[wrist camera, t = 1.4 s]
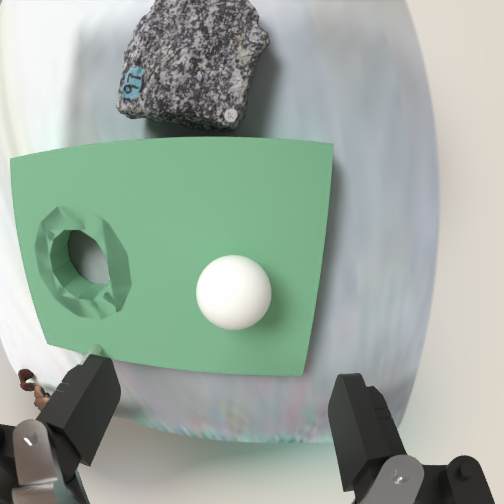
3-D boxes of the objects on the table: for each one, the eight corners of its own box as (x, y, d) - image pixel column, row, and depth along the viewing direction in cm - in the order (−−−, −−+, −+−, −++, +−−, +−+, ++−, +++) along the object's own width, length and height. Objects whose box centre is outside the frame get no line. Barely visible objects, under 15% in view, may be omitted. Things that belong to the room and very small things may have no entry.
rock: (284, 10, 14) (290, -20, 10) (235, 144, 17) (229, 143, 13) (177, -9, 13) (160, -37, 9) (127, 117, 17) (97, 113, 13)
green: (30, 155, 17) (10, 158, 15) (323, 144, 17) (333, 143, 15) (60, 329, 23) (47, 344, 20) (298, 354, 22) (302, 375, 20)
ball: (202, 243, 17) (186, 271, 13) (272, 246, 17) (276, 276, 13) (203, 303, 18) (191, 342, 14) (267, 307, 18) (270, 347, 14)
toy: (84, 371, 32) (126, 425, 22) (39, 404, 26) (63, 472, 16) (62, 339, 30) (92, 385, 20) (14, 372, 24) (23, 435, 14)
